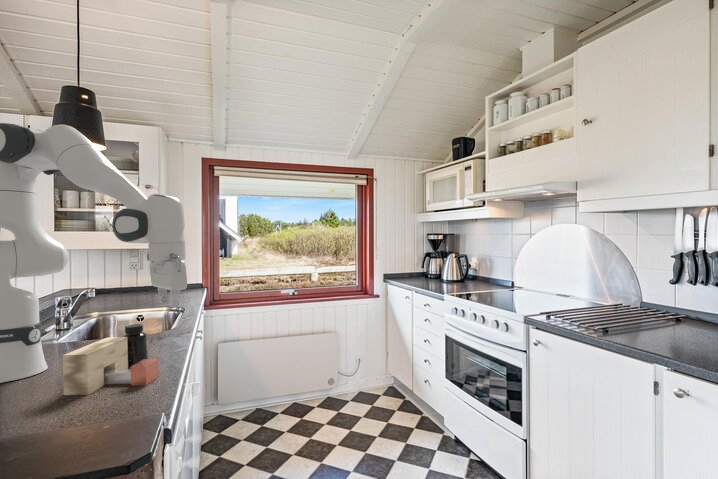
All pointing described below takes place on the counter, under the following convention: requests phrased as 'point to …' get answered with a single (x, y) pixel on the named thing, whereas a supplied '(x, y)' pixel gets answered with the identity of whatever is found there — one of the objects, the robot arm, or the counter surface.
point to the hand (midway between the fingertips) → (169, 305)
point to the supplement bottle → (136, 344)
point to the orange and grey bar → (134, 374)
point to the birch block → (93, 364)
